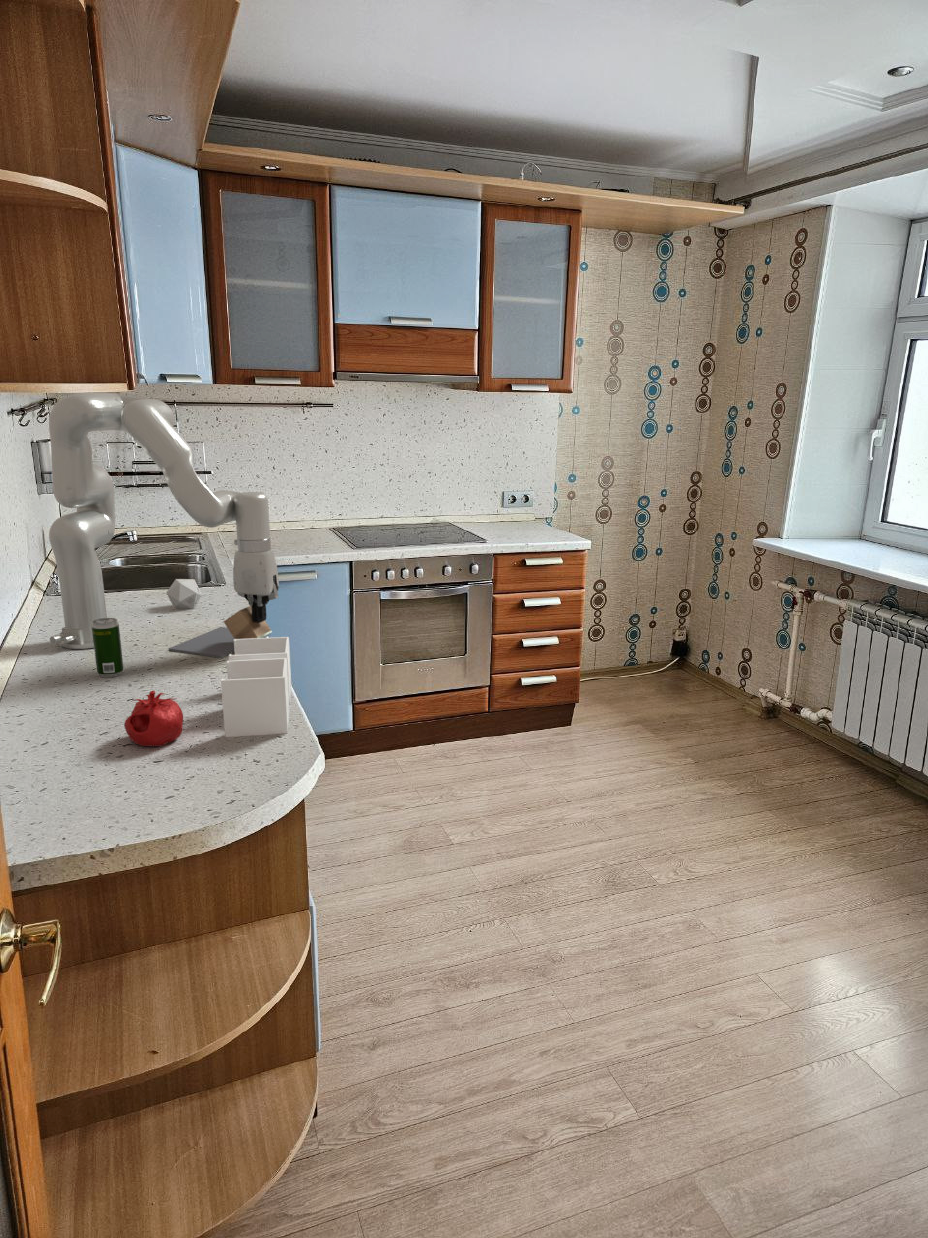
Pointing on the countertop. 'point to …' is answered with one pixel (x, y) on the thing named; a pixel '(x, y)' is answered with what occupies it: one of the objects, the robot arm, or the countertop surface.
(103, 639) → the beer can
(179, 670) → the countertop surface
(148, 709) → the pomegranate
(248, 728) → the storage container
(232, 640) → the mat
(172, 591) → the die
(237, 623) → the block
